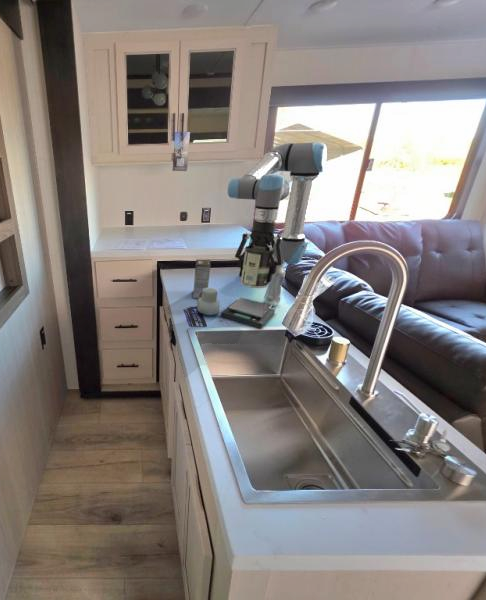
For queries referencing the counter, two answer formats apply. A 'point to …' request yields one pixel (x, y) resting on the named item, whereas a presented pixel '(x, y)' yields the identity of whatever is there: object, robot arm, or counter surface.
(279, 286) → the plastic bottle
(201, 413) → the counter surface
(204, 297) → the air freshener
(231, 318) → the scale
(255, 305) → the scale pan
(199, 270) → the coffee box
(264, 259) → the coffee can
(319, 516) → the counter surface
